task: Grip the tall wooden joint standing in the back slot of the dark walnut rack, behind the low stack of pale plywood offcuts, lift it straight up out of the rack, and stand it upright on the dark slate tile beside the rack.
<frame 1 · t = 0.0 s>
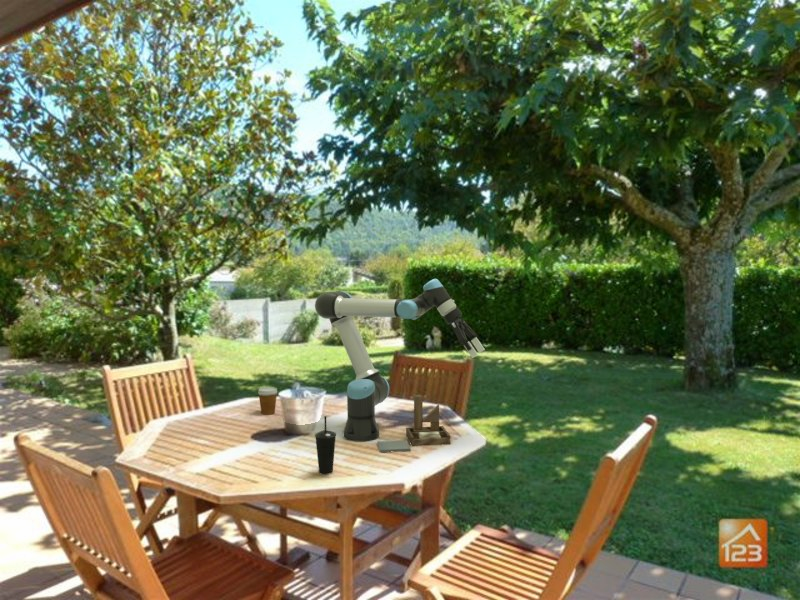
hand: (478, 354, 243), 36 cm above the table, tool tilted 35°, fingers open, 13 cm apart
wooden block: (426, 438, 247), resting in walnut rack
slate tile: (393, 447, 234), on the table
walnut rack: (427, 438, 245), on the table
disposable coffee cup: (268, 413, 286), on the table
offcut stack: (429, 442, 240), resting in walnut rack
drinking cup: (325, 472, 207), on the table
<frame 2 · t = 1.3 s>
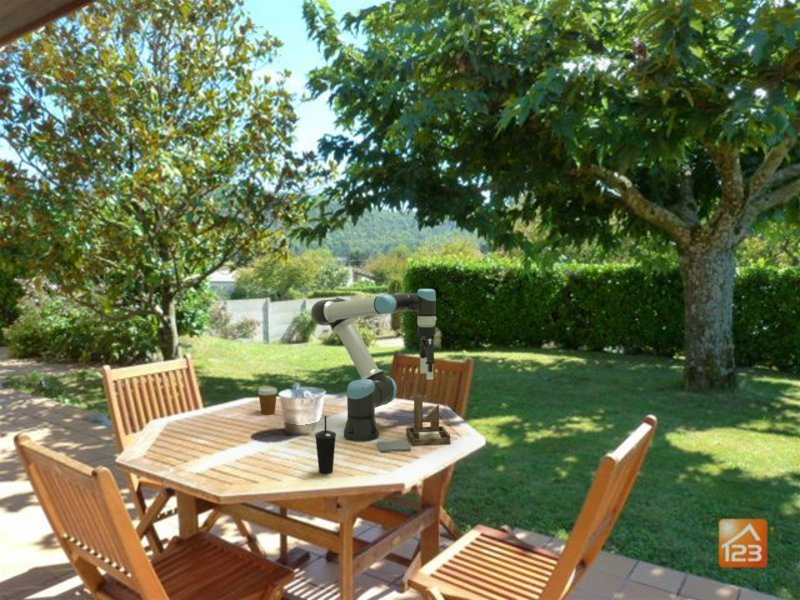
hand: (426, 376, 245), 26 cm above the table, tool pointing down, fingers open, 13 cm apart
nothing on the table moved.
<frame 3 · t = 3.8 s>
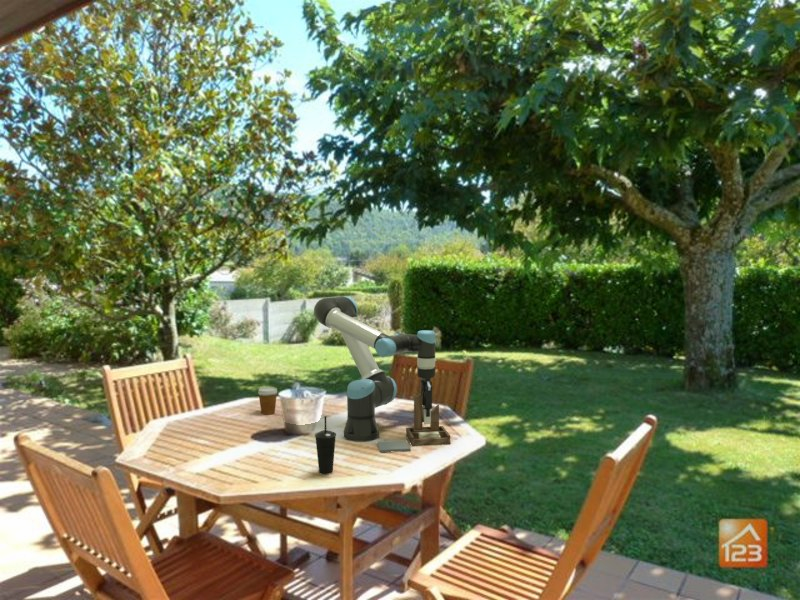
hand: (426, 422, 246), 7 cm above the table, tool pointing down, fingers closed on wooden block, 4 cm apart
wooden block: (426, 438, 247), resting in walnut rack, touching gripper
everything else where it was.
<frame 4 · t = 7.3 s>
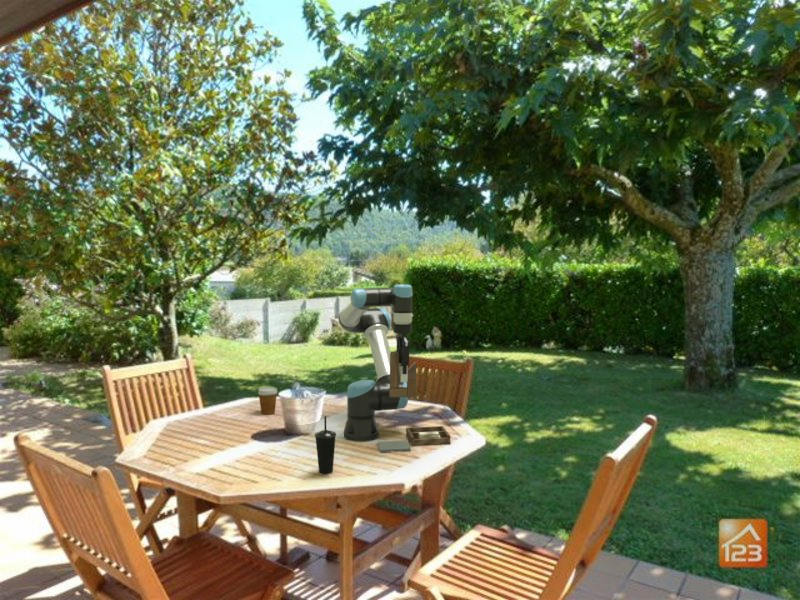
hand: (402, 380, 236), 26 cm above the table, tool pointing down, fingers closed on wooden block, 4 cm apart
wooden block: (402, 396, 237), point 20 cm above the table, touching gripper
everything else where it was.
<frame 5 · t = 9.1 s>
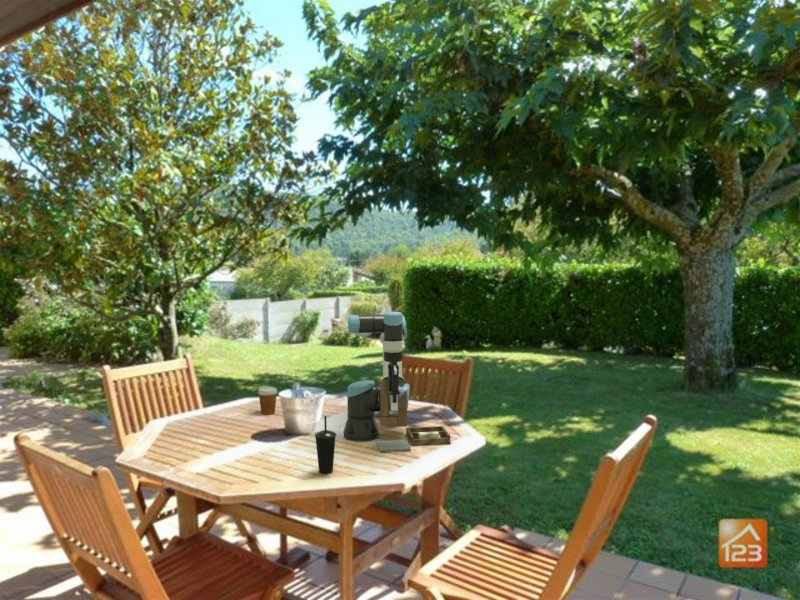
hand: (393, 408, 233), 16 cm above the table, tool pointing down, fingers closed on wooden block, 4 cm apart
wooden block: (393, 425, 234), point 9 cm above the table, touching gripper
everything else where it was.
when the fingers open (9 cm above the table, at t = 10.8 s): wooden block stays where it is, resting on slate tile.
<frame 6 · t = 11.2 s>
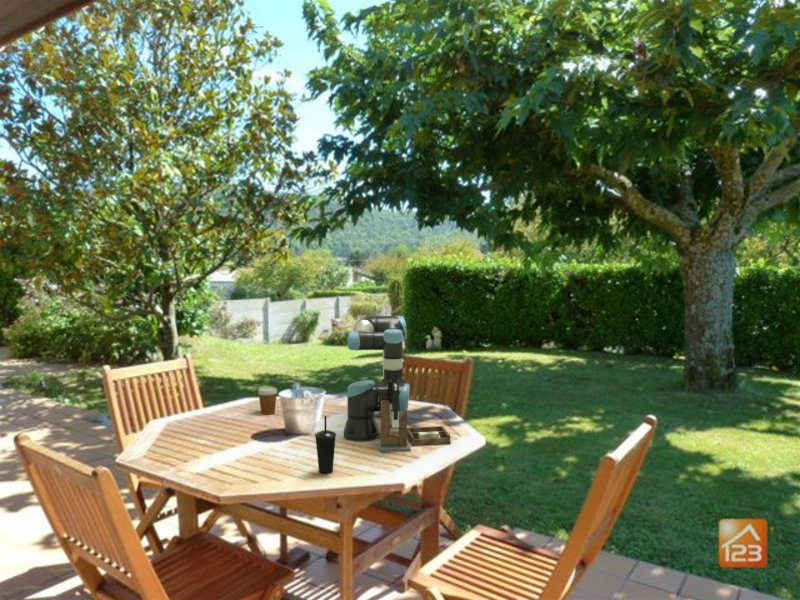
hand: (393, 423, 233), 10 cm above the table, tool pointing down, fingers open, 10 cm apart
wooden block: (393, 445, 234), point 1 cm above the table, touching slate tile
everything else where it was.
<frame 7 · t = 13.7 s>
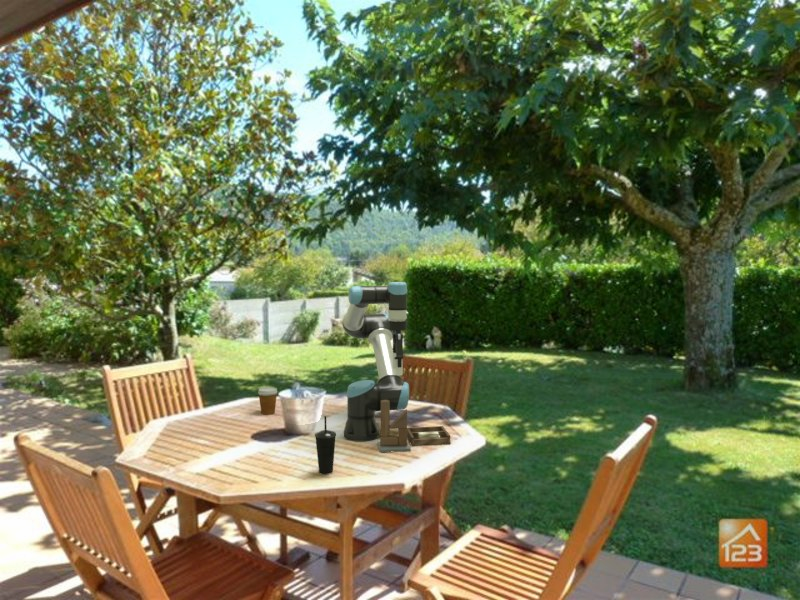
hand: (397, 371, 239), 29 cm above the table, tool pointing down, fingers open, 13 cm apart
nothing on the table moved.
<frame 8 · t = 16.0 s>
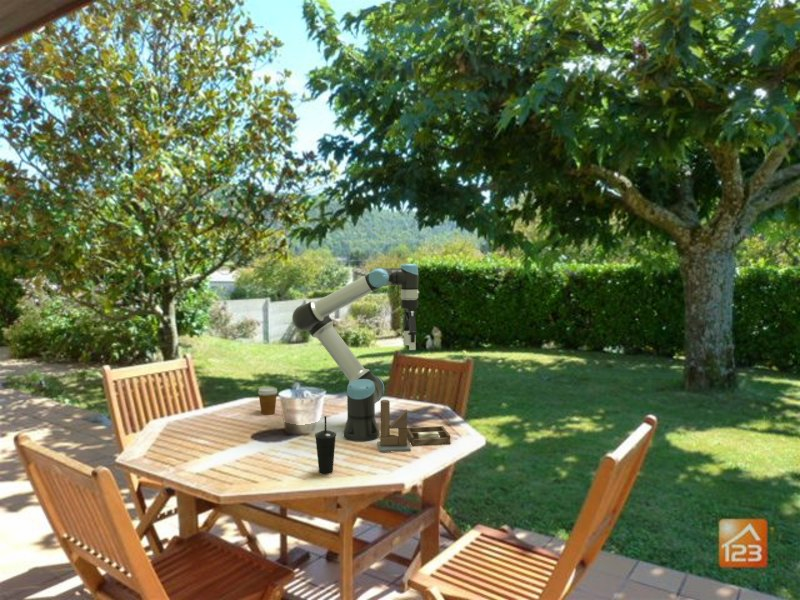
hand: (409, 347, 256), 37 cm above the table, tool pointing down, fingers open, 13 cm apart
nothing on the table moved.
at the end: wooden block inside the target area on the slate tile (0.2 cm from its centre), point 0.8 cm above the slate tile's base; wooden block tilted 0°; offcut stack moved 0.4 cm from its start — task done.
